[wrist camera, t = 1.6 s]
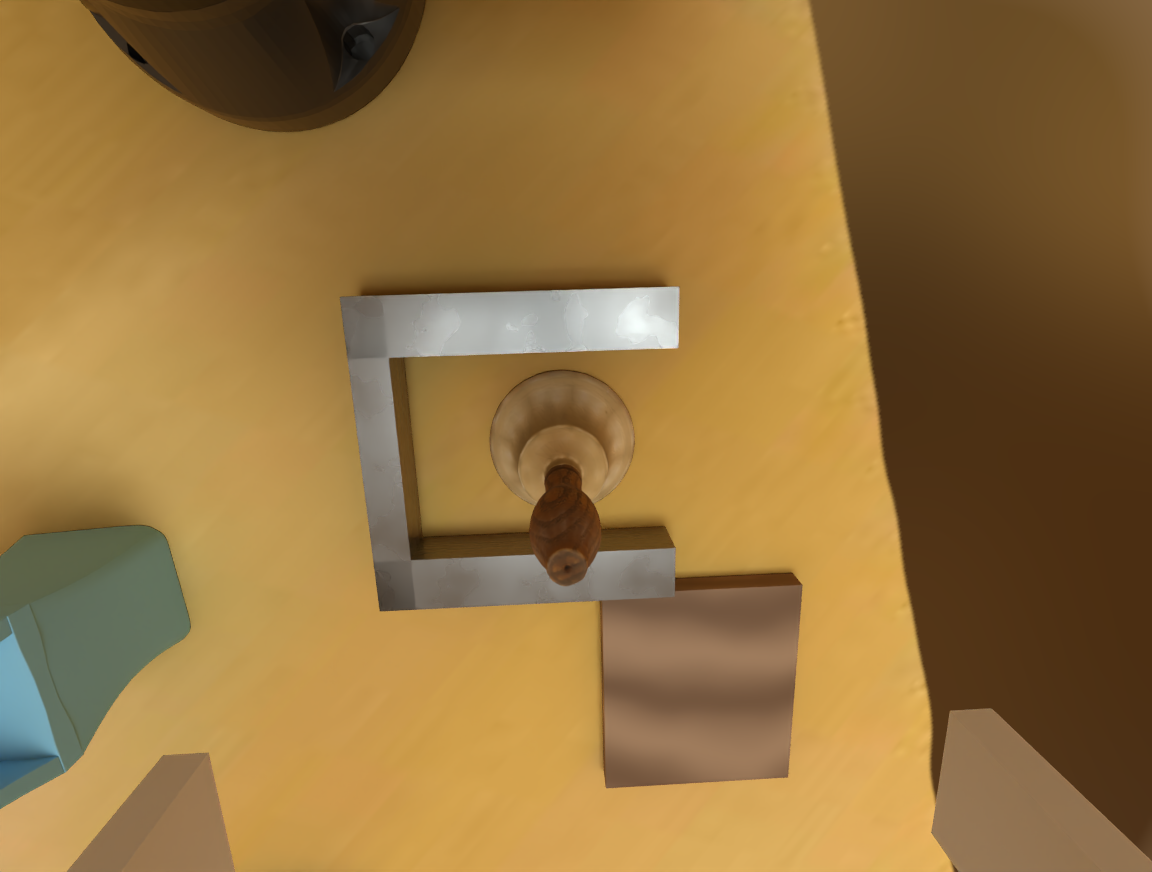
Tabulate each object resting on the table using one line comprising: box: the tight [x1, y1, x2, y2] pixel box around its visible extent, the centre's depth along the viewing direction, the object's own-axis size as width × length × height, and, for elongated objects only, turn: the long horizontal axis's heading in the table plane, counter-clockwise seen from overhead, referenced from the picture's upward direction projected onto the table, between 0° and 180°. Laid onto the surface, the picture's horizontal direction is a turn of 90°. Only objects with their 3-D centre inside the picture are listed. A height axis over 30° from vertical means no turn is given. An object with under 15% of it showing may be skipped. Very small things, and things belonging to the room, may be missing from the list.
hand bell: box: [490, 370, 635, 586], centre depth 26 cm, size 8×8×16 cm
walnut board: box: [600, 573, 802, 788], centre depth 37 cm, size 14×12×2 cm
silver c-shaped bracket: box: [340, 287, 679, 611], centre depth 32 cm, size 17×16×3 cm
